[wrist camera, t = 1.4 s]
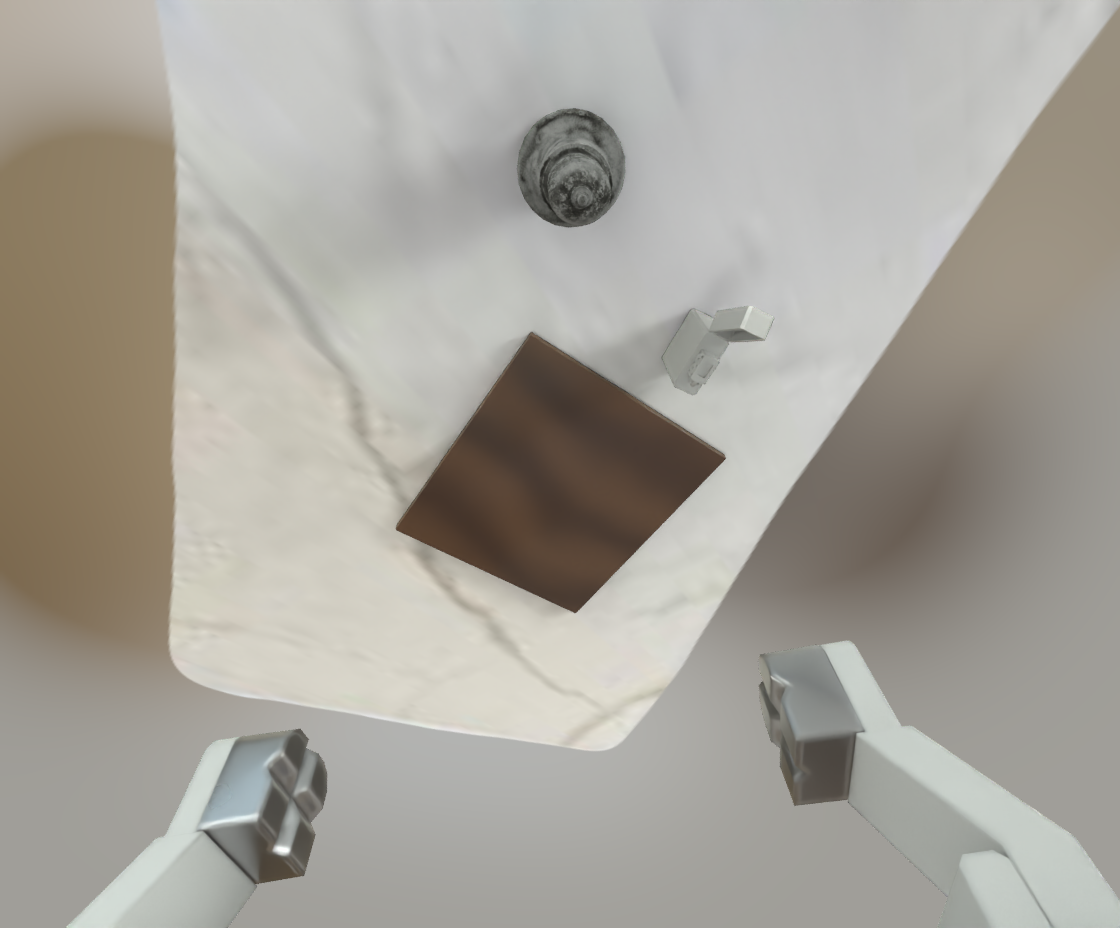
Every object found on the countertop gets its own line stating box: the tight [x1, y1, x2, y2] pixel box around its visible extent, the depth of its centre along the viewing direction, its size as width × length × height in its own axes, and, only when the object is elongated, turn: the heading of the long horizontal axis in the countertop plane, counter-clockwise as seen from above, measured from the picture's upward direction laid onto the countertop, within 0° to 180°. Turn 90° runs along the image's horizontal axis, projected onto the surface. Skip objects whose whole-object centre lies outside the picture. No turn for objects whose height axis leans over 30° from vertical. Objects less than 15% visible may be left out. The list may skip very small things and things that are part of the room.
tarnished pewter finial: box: [517, 108, 625, 227], centre depth 32 cm, size 6×6×12 cm
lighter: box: [662, 306, 774, 395], centre depth 39 cm, size 7×2×8 cm, turn 154°
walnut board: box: [396, 332, 726, 613], centre depth 50 cm, size 20×18×1 cm
